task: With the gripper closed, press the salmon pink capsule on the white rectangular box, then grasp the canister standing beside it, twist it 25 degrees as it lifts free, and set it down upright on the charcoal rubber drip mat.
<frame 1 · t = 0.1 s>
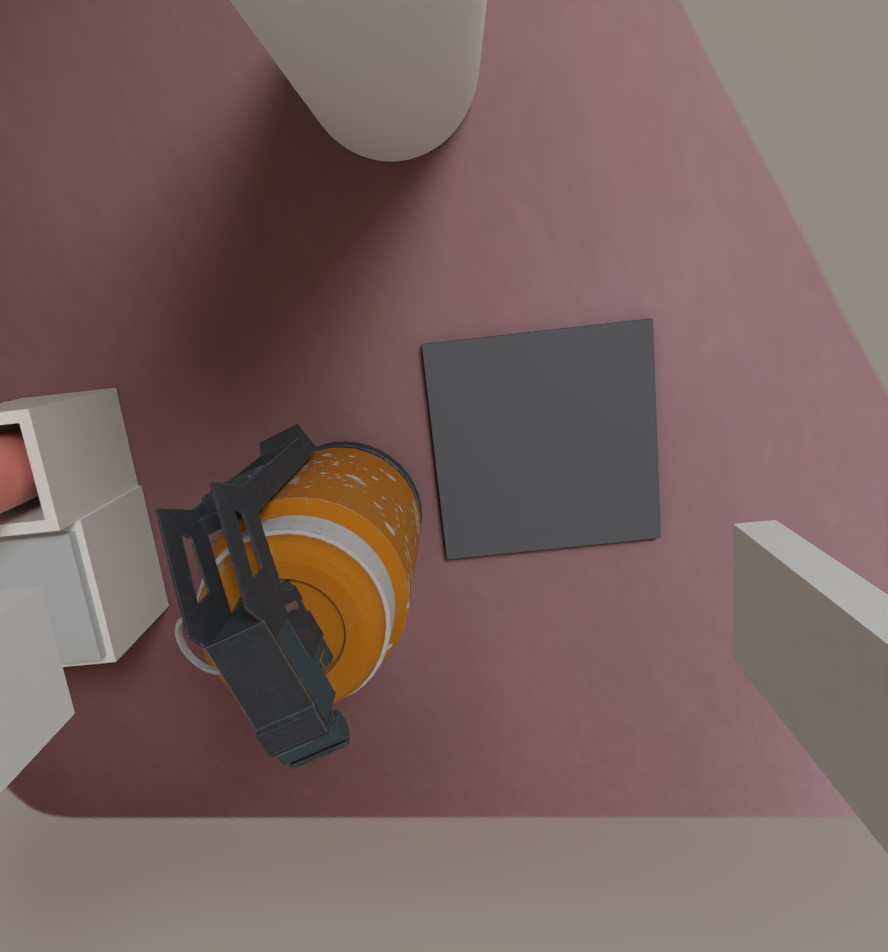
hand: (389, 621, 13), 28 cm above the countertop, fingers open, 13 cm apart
drip mat: (543, 442, 40), on the countertop
cylinder container: (389, 65, 36), on the countertop
canister: (341, 495, 42), on the countertop
white rectangular box: (97, 506, 42), on the countertop
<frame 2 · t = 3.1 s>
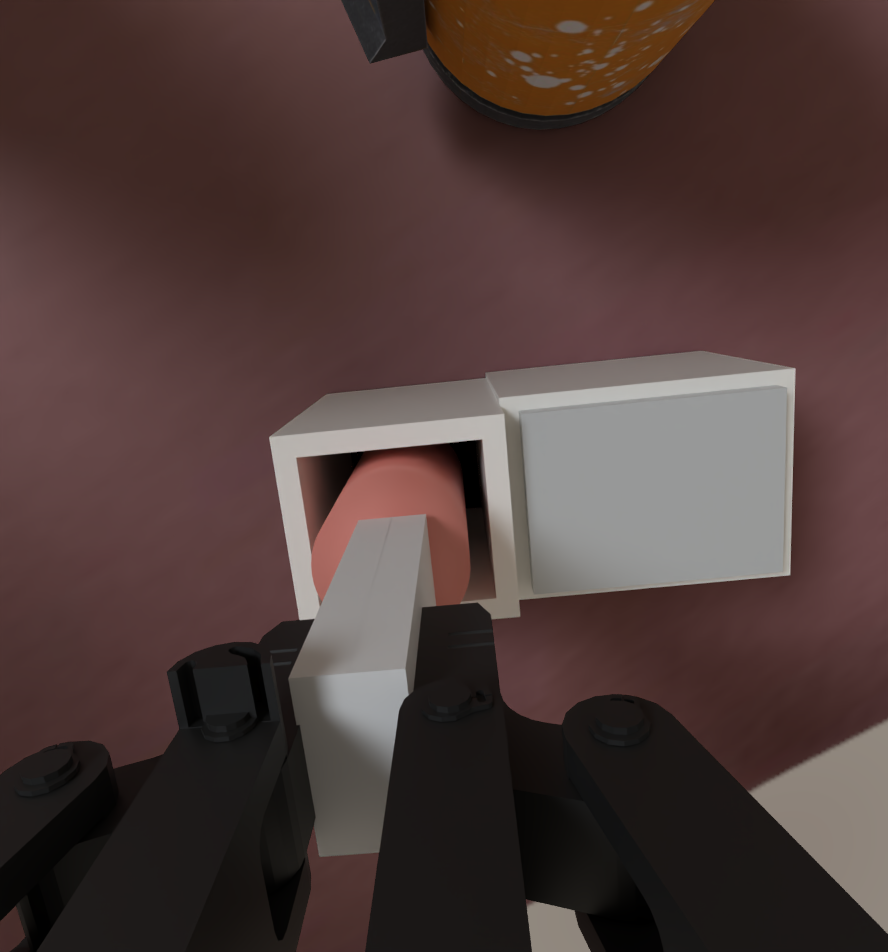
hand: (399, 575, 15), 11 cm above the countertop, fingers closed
salmon pink capsule: (402, 514, 19), point 7 cm above the countertop, slide at 0.9 cm, touching gripper
canister: (514, 3, 23), on the countertop
white rectangular box: (518, 448, 26), on the countertop
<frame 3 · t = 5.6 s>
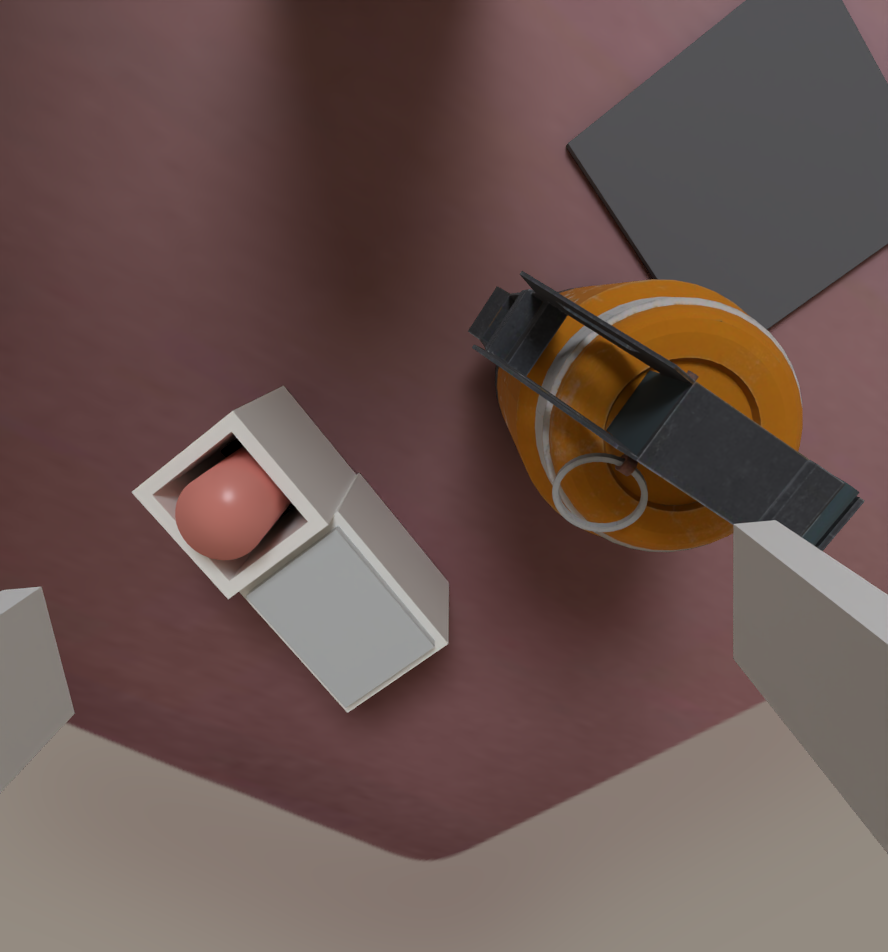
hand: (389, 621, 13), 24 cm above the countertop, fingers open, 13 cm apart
salmon pink capsule: (249, 490, 31), point 6 cm above the countertop, slide at 2.3 cm
drip mat: (754, 173, 33), on the countertop
canister: (563, 365, 35), on the countertop
white rectangular box: (328, 518, 37), on the countertop
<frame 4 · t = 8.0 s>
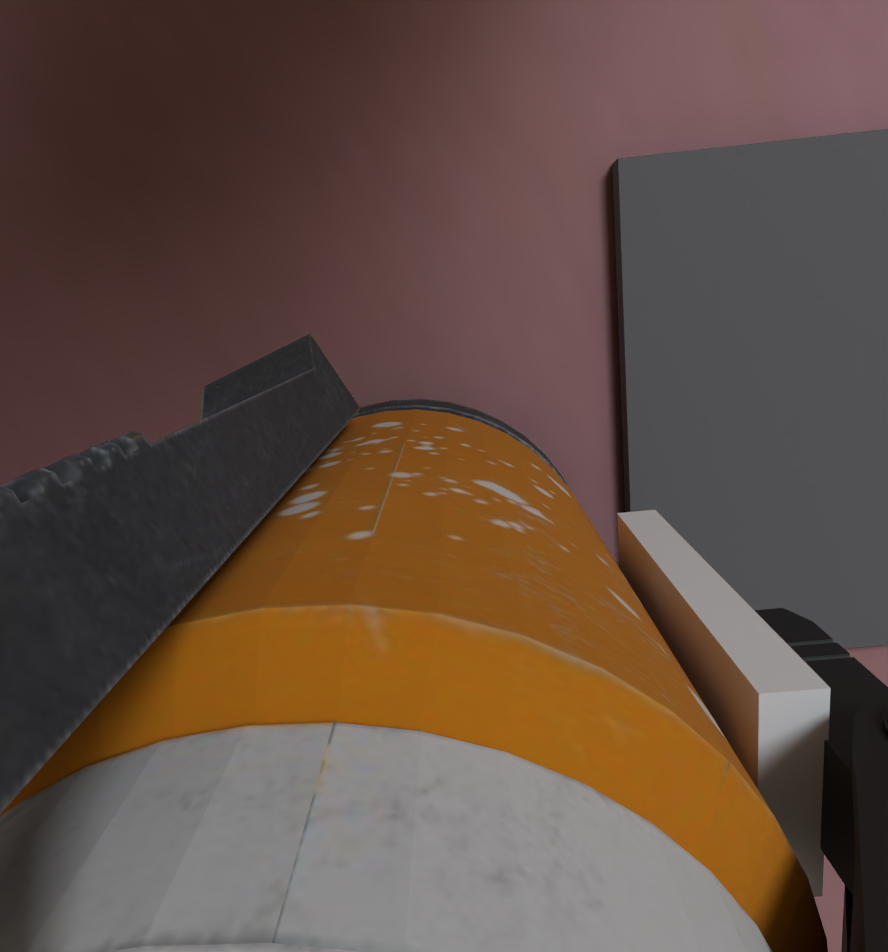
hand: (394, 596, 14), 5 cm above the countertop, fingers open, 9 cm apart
drip mat: (874, 406, 18), on the countertop
canister: (402, 522, 19), on the countertop, touching gripper
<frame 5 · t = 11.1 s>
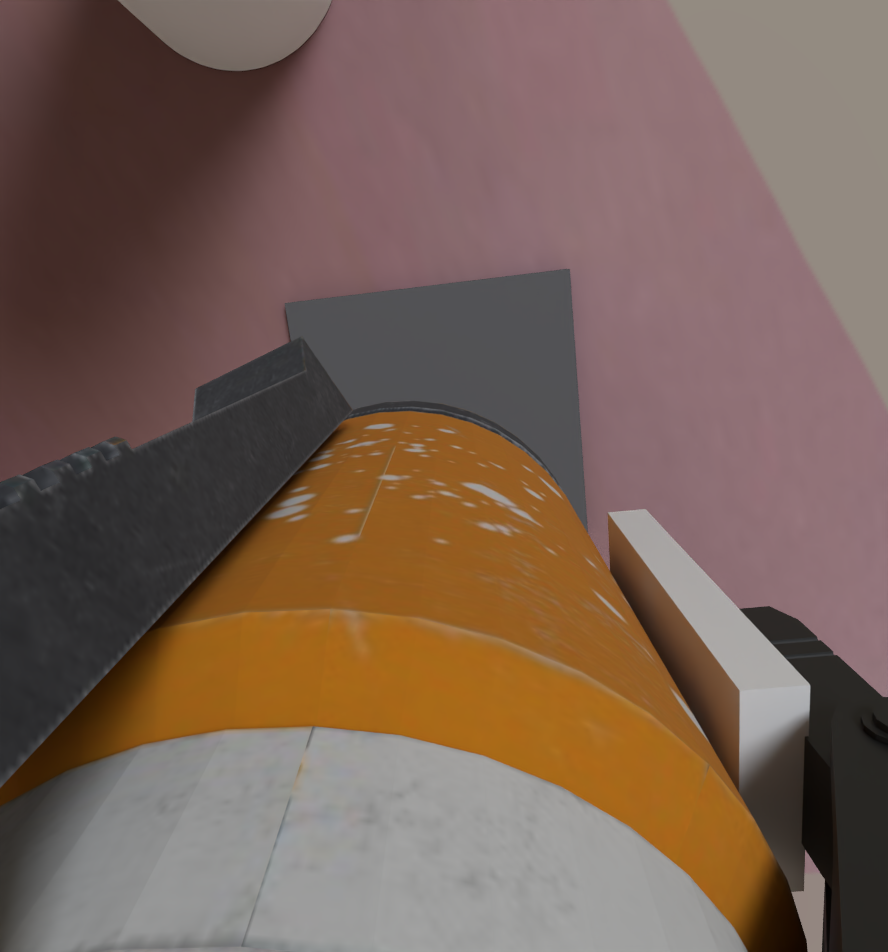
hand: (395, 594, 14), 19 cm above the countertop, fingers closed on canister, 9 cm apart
drip mat: (442, 425, 33), on the countertop
canister: (396, 523, 19), point 15 cm above the countertop, touching gripper
when the fingers open (6 cm above the countertop, at t = 14.1 s): canister drops 1 cm, resting on drip mat.
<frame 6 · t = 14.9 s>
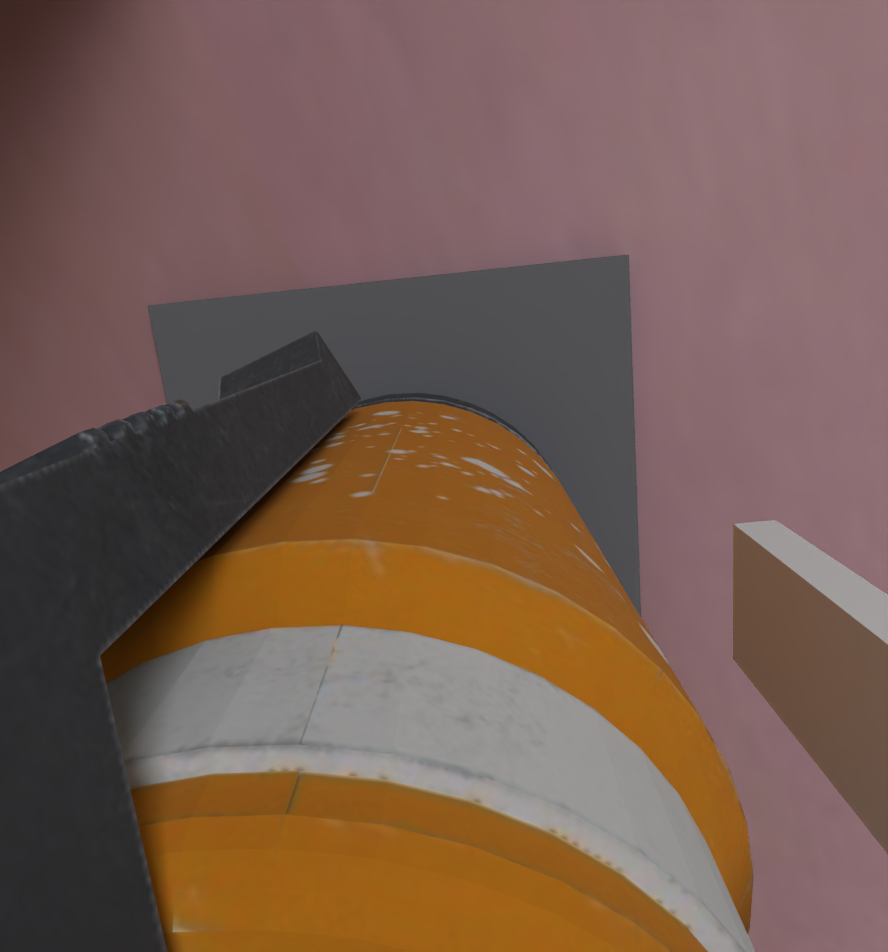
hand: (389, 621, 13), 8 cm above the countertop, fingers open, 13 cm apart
drip mat: (413, 505, 20), on the countertop
canister: (401, 509, 20), resting on drip mat
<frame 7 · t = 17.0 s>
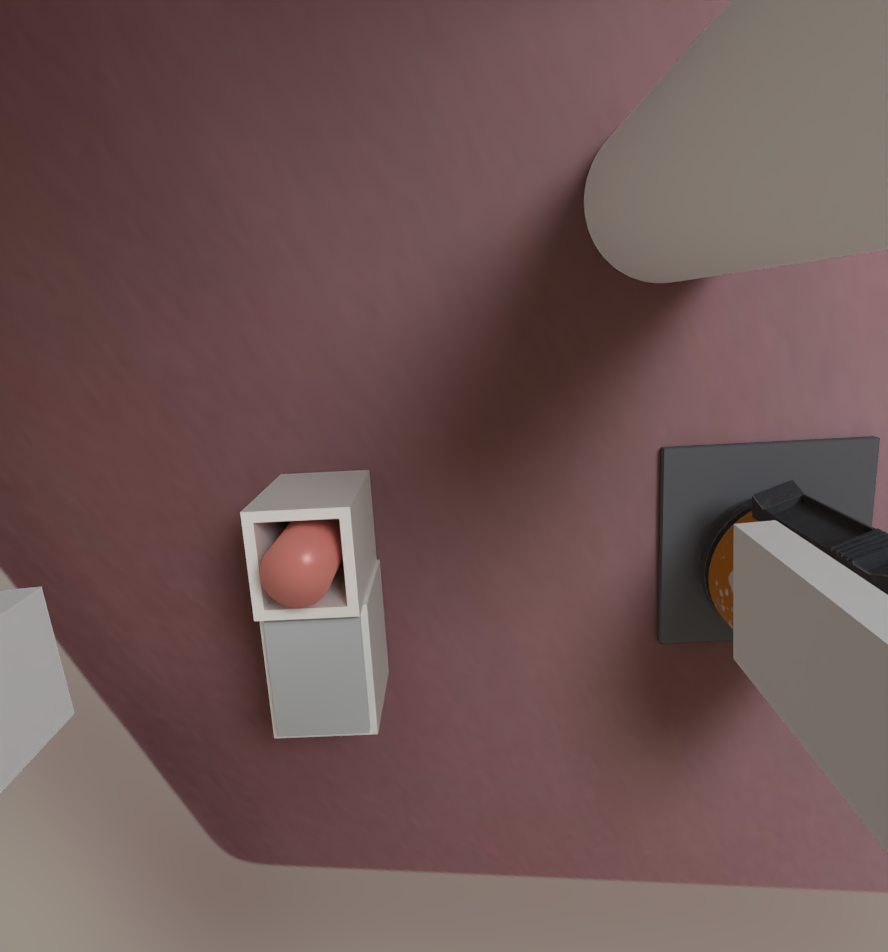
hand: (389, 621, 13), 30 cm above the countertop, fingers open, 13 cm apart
salmon pink capsule: (311, 547, 38), point 6 cm above the countertop, slide at 2.3 cm
drip mat: (761, 541, 44), on the countertop
cylinder container: (665, 198, 39), on the countertop
canister: (759, 543, 43), resting on drip mat
white rectangular box: (335, 576, 44), on the countertop
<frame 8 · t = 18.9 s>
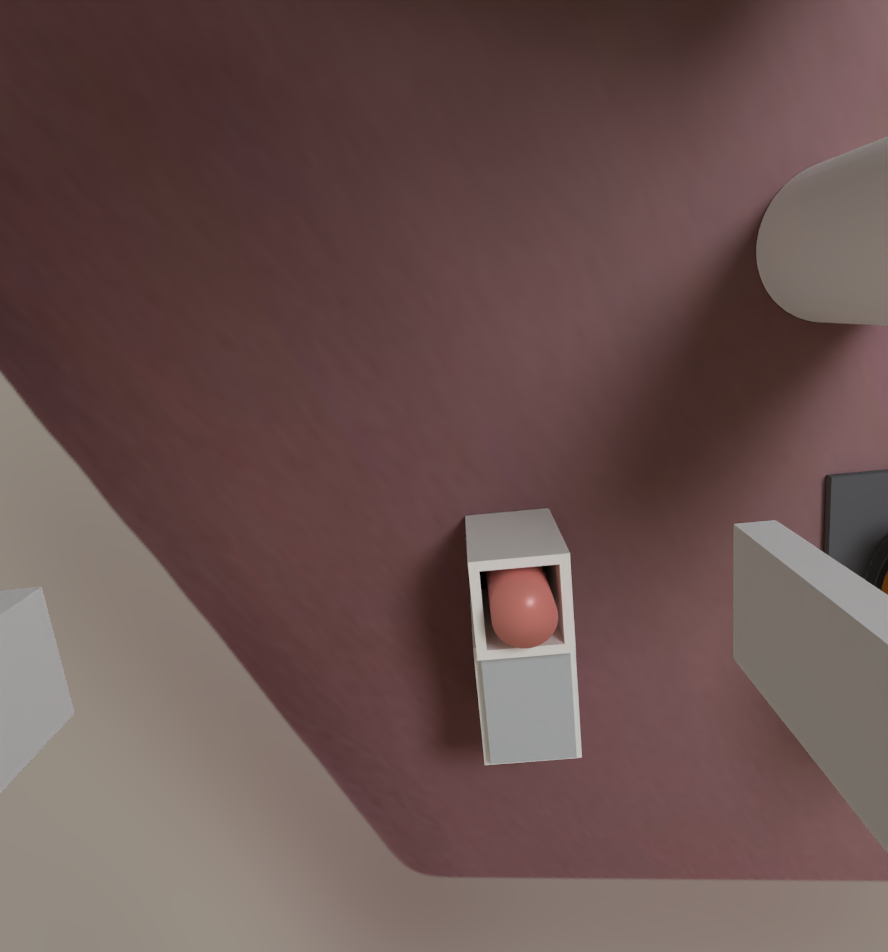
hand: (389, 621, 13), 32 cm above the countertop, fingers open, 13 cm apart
salmon pink capsule: (518, 588, 41), point 6 cm above the countertop, slide at 2.3 cm
cylinder container: (833, 243, 41), on the countertop
white rectangular box: (514, 608, 47), on the countertop
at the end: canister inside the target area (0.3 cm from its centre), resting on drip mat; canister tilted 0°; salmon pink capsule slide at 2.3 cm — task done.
